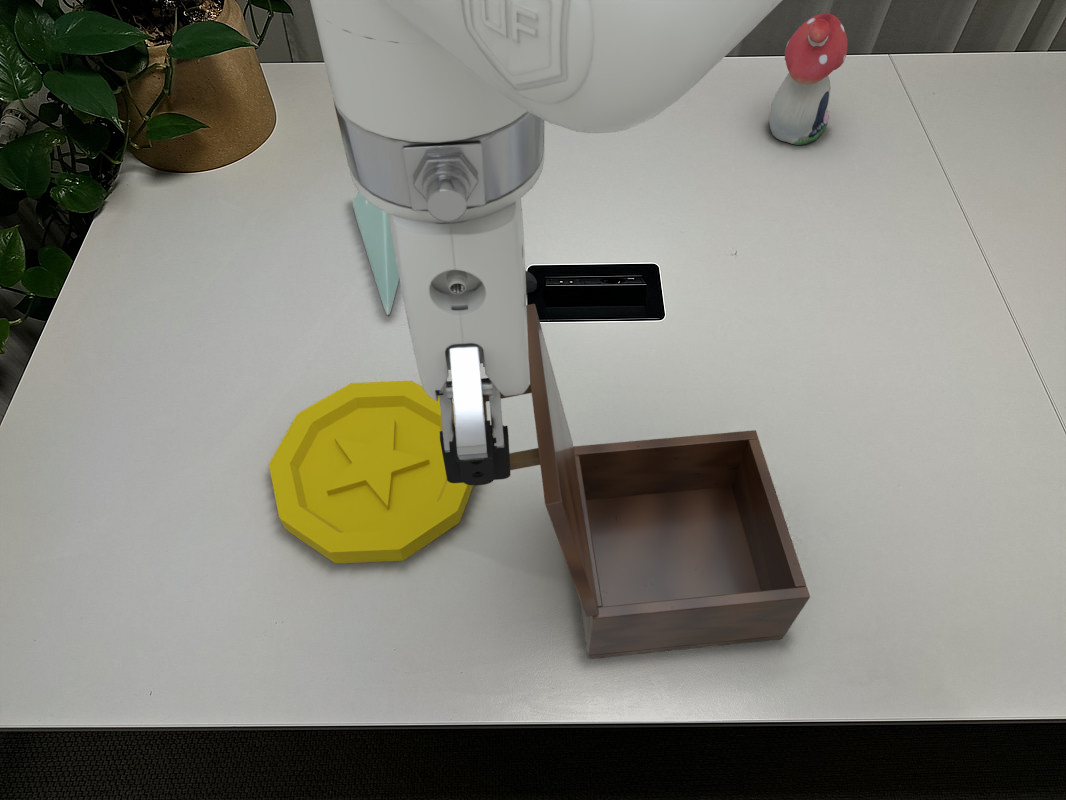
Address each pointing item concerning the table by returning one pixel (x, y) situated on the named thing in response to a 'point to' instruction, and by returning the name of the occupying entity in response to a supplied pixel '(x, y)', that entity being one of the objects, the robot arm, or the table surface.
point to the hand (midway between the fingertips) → (474, 400)
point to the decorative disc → (367, 474)
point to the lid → (556, 464)
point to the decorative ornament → (808, 80)
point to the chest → (685, 545)
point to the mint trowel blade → (378, 248)
